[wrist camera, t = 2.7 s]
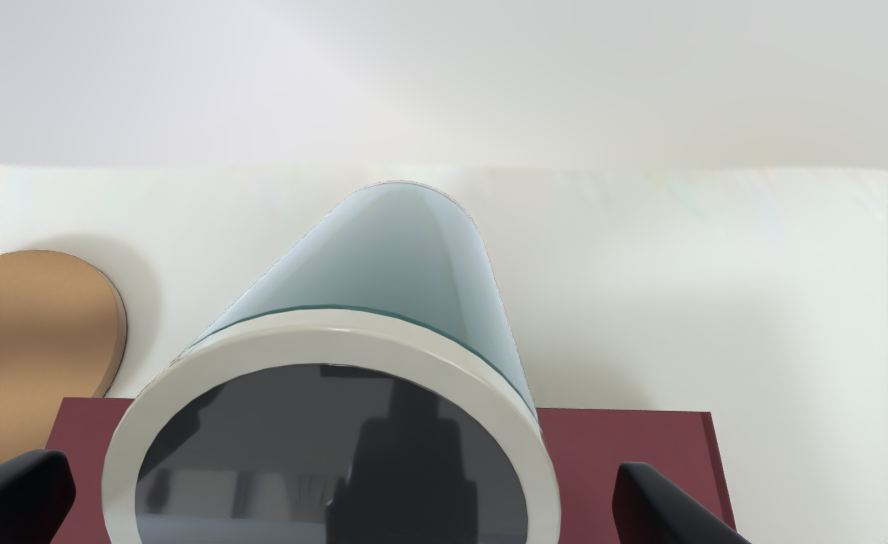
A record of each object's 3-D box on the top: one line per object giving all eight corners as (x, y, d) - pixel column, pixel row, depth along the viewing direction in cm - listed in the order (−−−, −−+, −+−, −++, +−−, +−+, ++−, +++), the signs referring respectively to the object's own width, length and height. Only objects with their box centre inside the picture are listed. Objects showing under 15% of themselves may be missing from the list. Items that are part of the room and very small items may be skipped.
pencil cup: (485, 590, 16) (660, 890, 4) (286, 586, 15) (-182, 883, 4) (479, 245, 21) (542, -70, 9) (333, 240, 21) (210, -83, 9)
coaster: (143, 417, 18) (134, 414, 17) (-132, 527, 16) (-152, 528, 15) (111, 228, 21) (103, 221, 21) (-118, 301, 19) (-134, 296, 19)
